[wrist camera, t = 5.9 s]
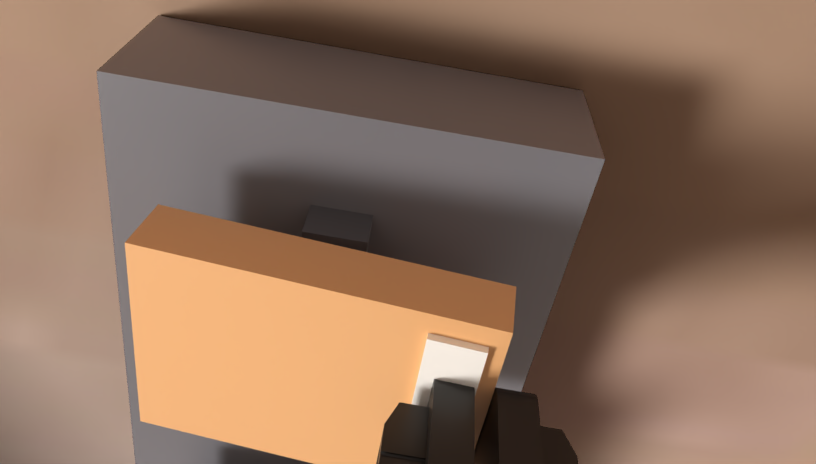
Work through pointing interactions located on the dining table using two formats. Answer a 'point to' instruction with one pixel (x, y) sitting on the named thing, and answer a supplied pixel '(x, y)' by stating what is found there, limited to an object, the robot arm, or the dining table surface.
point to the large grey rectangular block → (344, 170)
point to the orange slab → (299, 336)
